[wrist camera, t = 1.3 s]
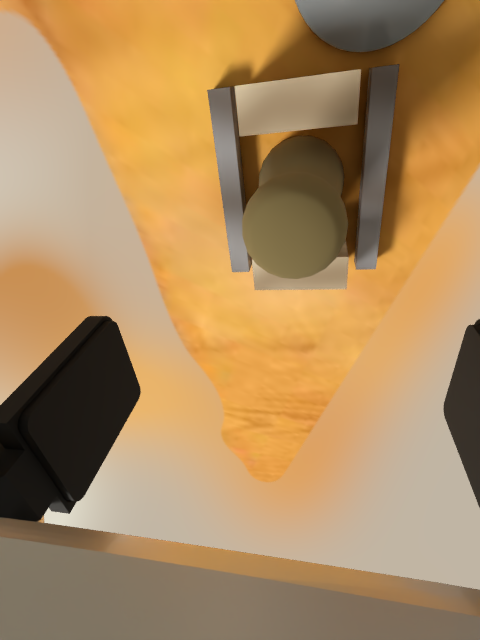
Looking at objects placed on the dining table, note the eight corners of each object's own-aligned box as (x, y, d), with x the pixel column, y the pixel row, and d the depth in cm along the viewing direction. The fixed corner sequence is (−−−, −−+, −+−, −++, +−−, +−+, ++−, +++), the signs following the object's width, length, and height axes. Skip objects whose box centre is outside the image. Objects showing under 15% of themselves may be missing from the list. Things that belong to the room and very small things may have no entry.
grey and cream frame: (213, 89, 23) (193, 91, 19) (394, 64, 20) (411, 62, 17) (235, 264, 29) (224, 290, 26) (373, 260, 27) (381, 288, 24)
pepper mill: (363, 164, 24) (391, 216, 15) (313, 238, 27) (311, 316, 18) (285, 117, 23) (265, 142, 14) (244, 199, 26) (207, 261, 17)
